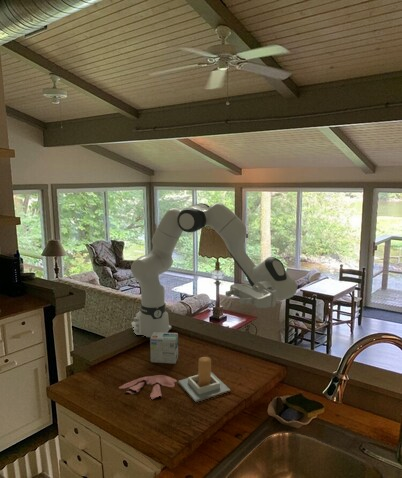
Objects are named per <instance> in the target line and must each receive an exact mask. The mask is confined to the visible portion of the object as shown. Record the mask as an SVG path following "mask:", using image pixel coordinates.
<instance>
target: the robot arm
mask: <svg viewBox="0 0 402 478" xmlns="http://www.w3.org/2000/svg"><path fill="white" fill-rule="evenodd" d="M205 227H211V229H213V231H215V232H216V234H218V235H219V236H220V237H221V239H222V241H223V242H224V244H225V246H226V250H227V252H228V253H229V255H230V257H231V258H232V259H233V260H234V261H235V263H236V265H238V267H239V269H240V270H241V271H242V273H243V274H244V275H245V277H246V278H247V281H248V282H249V283H235V284H231V285H230V287H229V290H228V291H227V290H226V291H225V296H226V297H227V298H230V297H232V296H235V297H237V298H239V299H238V303H239V304H240V305H244V304H245V305H252V306H254V307H255V308H257V309H265V308H266V309H267V308H275V307H276V306H277V302H279V301H284V300H287V299H288V300H289V299H291V298H293V297H294V296H295V295H296V293H297V291H298V284H297V281H296V279H294V278H293V277H292V276H290V275H289V274H288V272H287V270H286V269H285V266H284V263H283V262H282V261H281V260H280V259H278V258H277V257H274V256H269V257H267V258H266V259H264V260H263V261H262V262H261V263H260V264H259V265H256V264H255V263H254V262H253V260H252V259H251V258H250V256H249V255H248V254H247V253H246V250H245V241H246V236H247V227H246V225H245V224H244V222H243V221H242V219H241V218H240V217H239V216H237V214H236V213H235V212H233V211H232V210H231V209H230V208H229V207H227V206H226V205H224V204H223V203H221V202H215V203H212V204H211V205H208V204H206V203H203V202H202V203H200V202H199V203H195V204H191V205H190V206H188V207H185V208H183V209H180V208H178V207H172V208H169V209H168V210H167V211H166V213H165V214H164V215H163V216H162V218H161V220H160V221H159V223H158V225H157V228H156V230H155V231H154V233H153V236H152V238H151V244H152V249H151V250H150V252H149V253H147V254H145V255H142V256H140V257H138V258H137V259H135V260H134V261H133V262H132V264H131V265H130V272H131V275H132V277H133V278H135V279H136V280H137V281H138V284H139V286H140V295H141V297H140V298H141V302H140V306H139V311H138V312H137V313H136V314H135V317H133V321H131V327H132V331H133V330H134V331H133V334H134V333H135V334H136V335H144V336H146V338H151V336H152V334H153V333H154V332H162V333H169V331H170V330H171V329H172V325H170V322H169V321H170V320H169V313H168V312H167V311H166V309H167V305H166V302H165V296H166V295H165V287H164V285H162V284H161V282H160V277H159V276H160V275H161V274H164V273H166V272H167V271H168V270H169V269H170V268H171V267H172V266H173V261H174V260H173V252H174V250H175V248H176V247H177V243H178V241H179V239H180V238H181V235H182V233H183V232H185V233H195V232H197V231H200V230H202V229H203V228H205ZM249 284H250V285H249ZM133 327H134V328H133ZM135 334H134V335H135ZM136 335H135V336H136ZM144 336H143V337H144Z"/></svg>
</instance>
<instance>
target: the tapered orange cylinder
mask: <svg viewBox="0 0 402 478" xmlns="http://www.w3.org/2000/svg"><path fill="white" fill-rule="evenodd" d="M197 369H198V371H197V375H198V386H199V387H203V386H207V385H210V380H211V372H212V358H210V357H209V356H201V357H199V358H198V367H197Z"/></svg>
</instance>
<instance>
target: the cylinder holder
mask: <svg viewBox="0 0 402 478" xmlns="http://www.w3.org/2000/svg"><path fill="white" fill-rule="evenodd" d="M177 383H178V385H179V386H180V387H181V388H182V389H183V390H184V392H185V391H186V392H187V393H188V394H189V395H190V396H189V395H188V394H187V393H186V392H185V393H186V394H187V395H188V396H189V398H190V399H191V398H192V399H193V400H194V401H195V402H198V401H201V400H203V399H207V398H209V397H212V396H215V395H218V394H221V393H224V392H227V391H231V389H230V388H229V387H228V386H227V385H226V384H225V383H224V382H223V381H221V380H220V378H218V377H217V375H216V374H214V372H212V371H211V380H210V385H207V386H203V387H199V386H198V374H195V375H193V376H192V375H191V376H188V377H186V378H183V379H179V380H178V381H177ZM193 400H192V401H193ZM194 401H193V402H194ZM195 402H194V403H195ZM201 402H202V401H201ZM198 403H199V402H198Z"/></svg>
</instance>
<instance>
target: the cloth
mask: <svg viewBox="0 0 402 478" xmlns="http://www.w3.org/2000/svg"><path fill="white" fill-rule="evenodd" d="M175 383H178V381H177V379H175V378H173V377H171V376H169V375H168V376H167V375H165V374H158V375H157V374H156V375H155V374H154V375H149V376H142V377H139V378H137V379H133V380H132V381H128V382H126V383H124V384H123V385H120V386H119V387H118V389H127V391H124V392H123V395H125V394H127V393H129V394H131V395H137V394H138V393H139V392H140V391H141V390H142V388H143V387H145V385H153V387H152V389H151V392H150V394H149V398H150V397H151V399H152V400H154V399H157V398H156V397H159V396H161V398H160V397H159V398H160V399H162V398H163V395H162V390H161V387H167V388H174V387H175V385H176V384H175ZM151 399H150V400H151Z"/></svg>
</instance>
